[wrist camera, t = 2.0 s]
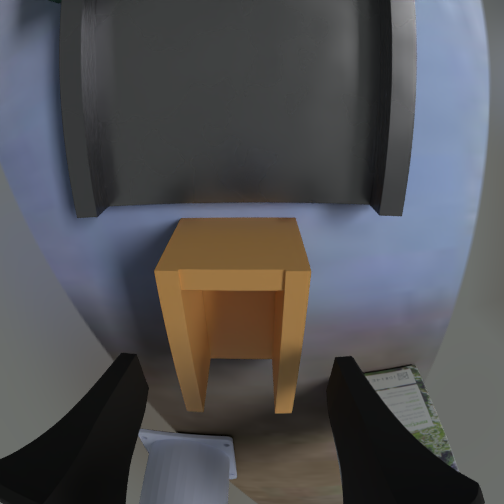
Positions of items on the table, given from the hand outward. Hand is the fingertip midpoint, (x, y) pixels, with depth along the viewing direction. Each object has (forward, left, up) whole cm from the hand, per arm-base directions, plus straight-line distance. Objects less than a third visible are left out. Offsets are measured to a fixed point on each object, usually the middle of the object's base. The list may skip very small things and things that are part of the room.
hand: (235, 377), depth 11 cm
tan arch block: (0, 0, -6) cm, 6 cm away
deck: (+14, 0, -5) cm, 15 cm away
